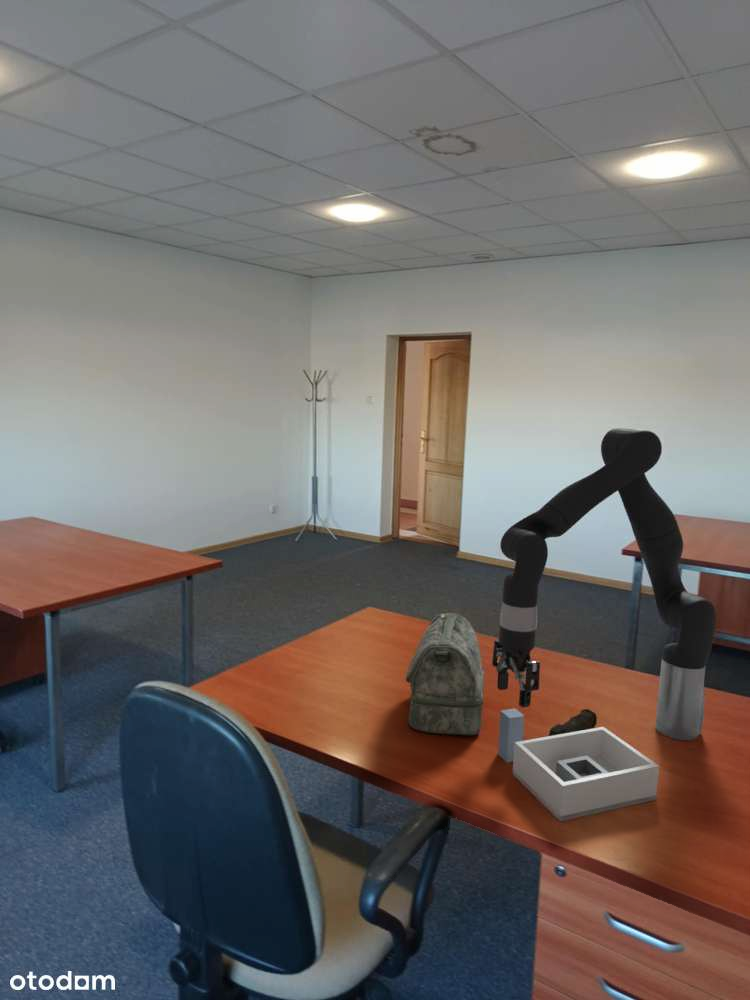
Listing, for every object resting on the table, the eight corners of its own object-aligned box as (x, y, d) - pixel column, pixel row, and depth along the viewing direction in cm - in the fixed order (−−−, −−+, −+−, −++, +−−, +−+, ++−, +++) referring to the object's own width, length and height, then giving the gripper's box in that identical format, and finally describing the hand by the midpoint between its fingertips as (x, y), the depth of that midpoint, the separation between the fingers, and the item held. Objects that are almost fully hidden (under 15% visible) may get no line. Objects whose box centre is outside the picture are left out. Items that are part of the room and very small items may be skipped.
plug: (512, 751, 141) (515, 708, 140) (521, 759, 138) (524, 715, 137) (497, 754, 140) (500, 710, 139) (506, 762, 137) (509, 718, 135)
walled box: (600, 757, 140) (603, 726, 139) (655, 799, 125) (659, 765, 124) (512, 774, 133) (514, 742, 132) (560, 821, 118) (562, 786, 117)
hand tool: (581, 721, 157) (582, 703, 156) (596, 727, 154) (598, 709, 153) (536, 747, 144) (537, 728, 143) (552, 755, 141) (553, 735, 140)
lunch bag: (416, 685, 174) (419, 606, 170) (484, 693, 170) (489, 613, 167) (400, 732, 148) (403, 641, 145) (480, 743, 145) (485, 649, 142)
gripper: (553, 633, 130) (547, 710, 132) (515, 612, 143) (510, 681, 145) (521, 637, 127) (515, 715, 129) (485, 614, 140) (480, 685, 143)
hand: (512, 697), depth 137 cm, fingers open, 8 cm apart
